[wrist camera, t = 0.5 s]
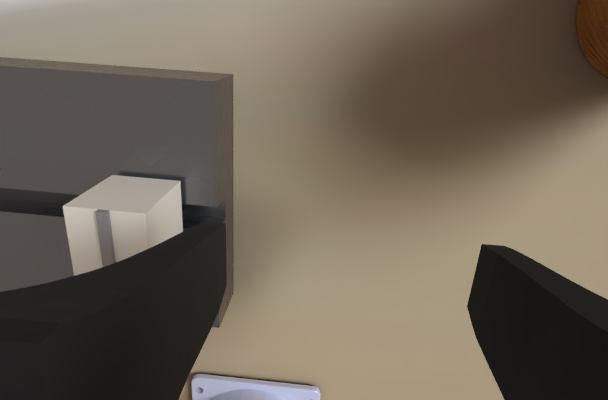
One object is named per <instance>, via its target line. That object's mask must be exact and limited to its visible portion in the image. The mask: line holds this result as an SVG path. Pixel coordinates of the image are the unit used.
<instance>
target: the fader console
mask: <svg viewBox="0 0 608 400" xmlns="http://www.w3.org/2000/svg"><path fill="white" fill-rule="evenodd" d="M111 175H118V176H130V177H141V178H153V179H164V180H176V181H180V183H181V202H182V222H183V231H185V230H187V229H189V228H191V227H193V226H195V225H198V224H200V223H203V222H214V223H226V262H227V286H226V289H225V293H224V296H223V300H222V303H221V306H220V309H219V312H218V315H217V317H216V319H215V321H214V323H213V325H212V327H218V328H219V327H220V325H221V322H222V320H223V317H224V315H225V312H226V310H227V307H228V305H229V302H230V300H231V297H232V295H233V74H220V73H206V72H193V71H179V70H165V69H152V68H138V67H124V66H111V65H97V64H84V63H70V62H56V61H43V60H29V59H15V58H2V57H0V292H2V291H8V290H14V289H19V288H25V287H30V286H35V285H39V284H44V283H49V282H53V281H56V280H60V279H64V278H68V277H71V276H74V272H73V266H72V260H71V254H70V248H69V242H68V236H67V230H66V224H65V218H64V212H63V206H64V205H65V204H67V203H68V202H70V201H72V200H73V199H75V198H76V197H78V196H80V195H81V194H83V193H84V192H86V191H87V190H89V189H91V188H92V187H94V186H95V185H97V184H99V183H100V182H102V181H103V180H105V179H107V178H108V177H110V176H111Z"/></svg>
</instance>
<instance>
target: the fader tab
mask: <svg viewBox="0 0 608 400" xmlns="http://www.w3.org/2000/svg"><path fill="white" fill-rule="evenodd" d="M63 212H64V218H65V224H66V230H67V236H68V242H69V248H70V254H71V260H72V266H73V272H74V276H75V275H79V274H83V273H86V272H90V271H93V270H96V269H99V268H102V267H105V266H108V265H110V264H113V263H116V262H119V261H121V260H124V259H126V258H129V257H131V256H133V255H135V254H138V253H140V252H142V251H144V250H146V249H149V248H151V247H153V246H155V245H158V244H160V243H162V242H164V241H166V240H167V239H169V238H171V237H173V236H175V235H177V234H179V233H181V232H183V222H182V202H181V183H180V181H176V180H164V179H153V178H141V177H130V176H118V175H111V176H110V177H108V178H107V179H105V180H103V181H102V182H100V183H99V184H97V185H95V186H94V187H92V188H91V189H89V190H87V191H86V192H84V193H83V194H81V195H80V196H78V197H76V198H75V199H73V200H72V201H70V202H68V203H67V204H65V205H64V206H63Z"/></svg>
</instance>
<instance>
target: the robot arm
mask: <svg viewBox="0 0 608 400" xmlns="http://www.w3.org/2000/svg"><path fill="white" fill-rule="evenodd" d="M226 286H227V262H226V223H214V222H203V223H200V224H198V225H195V226H193V227H191V228H189V229H187V230H185V231H183V232H181V233H179V234H177V235H175V236H173V237H171V238H169V239H167V240H166V241H164V242H162V243H160V244H158V245H155V246H153V247H151V248H149V249H146V250H144V251H142V252H140V253H138V254H135V255H133V256H131V257H129V258H126V259H124V260H121V261H119V262H116V263H113V264H110V265H108V266H105V267H102V268H99V269H96V270H93V271H90V272H86V273H83V274H79V275H75V276H71V277H68V278H64V279H60V280H56V281H53V282H49V283H44V284H39V285H35V286H30V287H25V288H19V289H14V290H8V291H2V292H0V400H179V397H180V394H181V392H182V389H183V387H184V385H185V382H186V380H187V378H188V375H189V373H190V371H191V369H192V367H193V365H194V363H195V361H196V359H197V357H198V355H199V353H200V350H201V348H202V346H203V344H204V342H205V340H206V338H207V336H208V334H209V332H210V330H211V327H212V325H213V323H214V321H215V319H216V317H217V315H218V312H219V309H220V306H221V303H222V300H223V296H224V293H225V289H226ZM467 307H468V311H469V315H470V318H471V322H472V325H473V329H474V332H475V335H476V338H477V340H478V343H479V345H480V347H481V349H482V352H483V354H484V356H485V358H486V361H487V363H488V365H489V367H490V369H491V371H492V373H493V376H494V378H495V380H496V382H497V384H498V386H499V389H500V391H501V393H502V395H503V397H504V399H505V400H608V300H607V299H605V298H603V297H601V296H599V295H597V294H595V293H593V292H591V291H589V290H587V289H585V288H583V287H582V286H580V285H578V284H576V283H574V282H572V281H570V280H569V279H567V278H565V277H563V276H561V275H559V274H558V273H556V272H554V271H552V270H551V269H549V268H547V267H545V266H543V265H542V264H540V263H538V262H536V261H534V260H533V259H531V258H529V257H527V256H525V255H523V254H521V253H519V252H517V251H515V250H513V249H511V248H508V247H506V246H497V245H485V244H482V246H481V250H480V254H479V259H478V263H477V267H476V271H475V276H474V280H473V284H472V288H471V293H470V297H469V301H468V305H467ZM191 387H192V400H320V390H319V388H317V387H315V386H308V385H299V384H290V383H281V382H271V381H262V380H253V379H244V378H235V377H225V376H216V375H207V374H196V375H195V376H194V377H193V379H192V382H191ZM199 387H200V388H199ZM201 388H202V389H201Z"/></svg>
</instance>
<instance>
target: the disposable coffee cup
mask: <svg viewBox="0 0 608 400" xmlns="http://www.w3.org/2000/svg"><path fill="white" fill-rule="evenodd" d="M576 26H577V34H578V40H579V43H580V46H581V48H582V51H583V54H584V55H585V57H586V58H587V60H588V62H589V63H590V64H591V65H592V66H593V67H594V68H595V69H596V70H598V71H599V72H600V73H602V74H603V75H605V76H606V77H608V0H579V3H578V8H577V18H576Z"/></svg>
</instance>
